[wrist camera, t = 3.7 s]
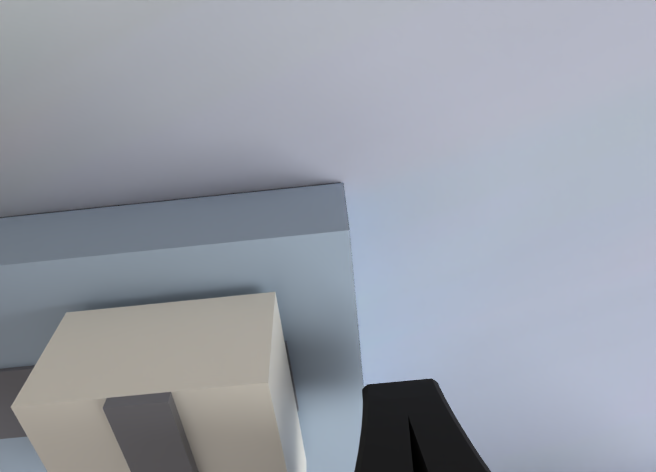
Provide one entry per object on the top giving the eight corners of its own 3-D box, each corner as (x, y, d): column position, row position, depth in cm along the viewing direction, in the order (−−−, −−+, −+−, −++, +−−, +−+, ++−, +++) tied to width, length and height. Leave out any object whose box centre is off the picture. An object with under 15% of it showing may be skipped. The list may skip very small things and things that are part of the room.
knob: (275, 291, 10) (267, 391, 8) (306, 461, 13) (306, 571, 11) (65, 312, 10) (4, 417, 8) (138, 476, 13) (105, 589, 11)
